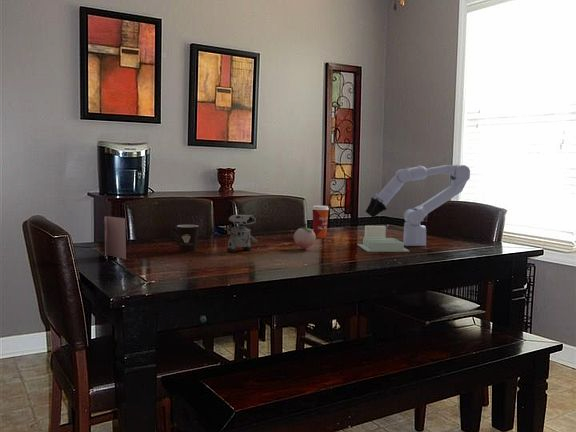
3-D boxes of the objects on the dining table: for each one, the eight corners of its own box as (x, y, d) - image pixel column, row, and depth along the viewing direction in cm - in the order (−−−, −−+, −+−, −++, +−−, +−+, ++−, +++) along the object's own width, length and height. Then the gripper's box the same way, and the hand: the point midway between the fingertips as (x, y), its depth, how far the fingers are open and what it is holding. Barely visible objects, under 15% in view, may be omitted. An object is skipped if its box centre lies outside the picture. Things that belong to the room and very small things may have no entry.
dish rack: (397, 245, 244) (397, 237, 244) (409, 251, 228) (410, 243, 227) (357, 245, 242) (357, 237, 242) (367, 251, 226) (367, 243, 225)
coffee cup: (322, 239, 258) (322, 207, 257) (307, 237, 263) (308, 206, 262) (331, 237, 265) (332, 206, 264) (317, 235, 270) (318, 205, 268)
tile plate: (383, 243, 250) (384, 225, 249) (385, 244, 247) (386, 226, 246) (364, 243, 249) (365, 225, 248) (365, 244, 246) (366, 226, 245)
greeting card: (102, 256, 205) (102, 216, 203) (123, 255, 208) (122, 215, 206) (104, 261, 194) (103, 219, 193) (126, 260, 197) (125, 218, 195)
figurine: (241, 255, 212) (242, 216, 211) (224, 250, 221) (225, 213, 220) (260, 252, 218) (260, 215, 217) (243, 248, 227) (243, 212, 225)
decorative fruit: (319, 249, 228) (320, 225, 227) (306, 251, 222) (307, 227, 221) (302, 246, 235) (303, 223, 234) (289, 249, 229) (290, 225, 228)
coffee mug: (202, 250, 222) (203, 225, 221) (190, 253, 214) (190, 227, 213) (179, 247, 227) (179, 223, 226) (166, 250, 219) (166, 225, 218)
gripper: (378, 183, 250) (359, 206, 252) (387, 187, 236) (366, 211, 237) (390, 193, 252) (370, 216, 253) (398, 197, 237) (378, 221, 239)
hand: (369, 214), depth 245 cm, fingers open, 7 cm apart
